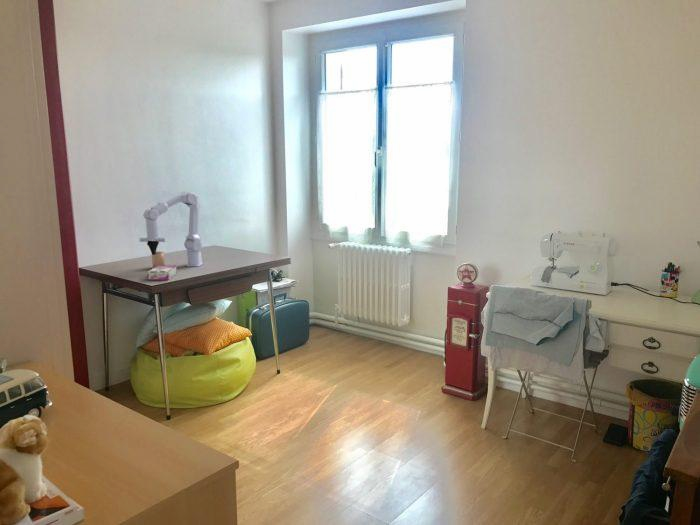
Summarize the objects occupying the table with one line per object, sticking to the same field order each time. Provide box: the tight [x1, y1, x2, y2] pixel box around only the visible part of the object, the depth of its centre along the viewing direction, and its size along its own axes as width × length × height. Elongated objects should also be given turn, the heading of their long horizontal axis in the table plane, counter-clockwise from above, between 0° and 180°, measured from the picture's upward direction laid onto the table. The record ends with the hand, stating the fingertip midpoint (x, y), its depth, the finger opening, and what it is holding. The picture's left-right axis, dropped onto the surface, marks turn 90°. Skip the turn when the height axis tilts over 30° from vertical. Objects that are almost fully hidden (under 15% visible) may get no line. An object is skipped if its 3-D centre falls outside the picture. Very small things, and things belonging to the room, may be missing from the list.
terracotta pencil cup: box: [151, 251, 166, 268], centre depth 331 cm, size 7×7×9 cm
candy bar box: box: [147, 264, 177, 281], centre depth 306 cm, size 11×5×16 cm
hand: (153, 254), depth 317 cm, fingers closed
